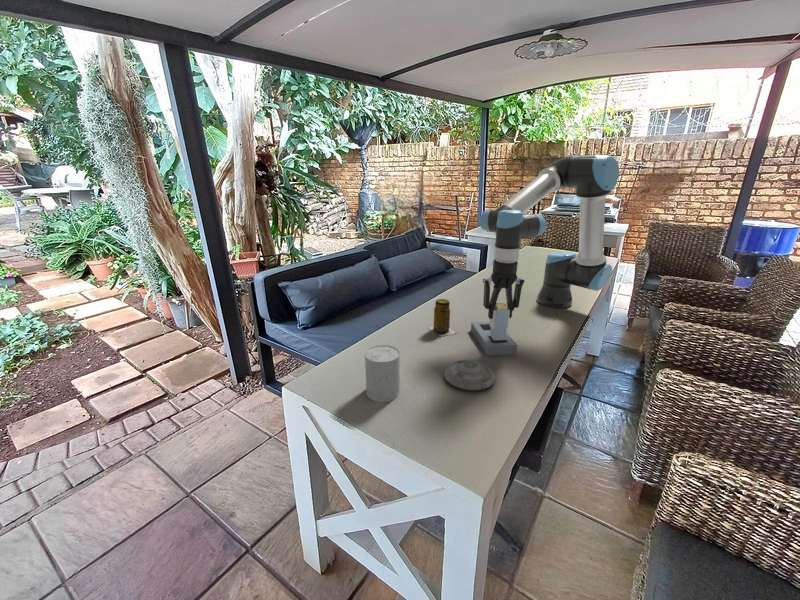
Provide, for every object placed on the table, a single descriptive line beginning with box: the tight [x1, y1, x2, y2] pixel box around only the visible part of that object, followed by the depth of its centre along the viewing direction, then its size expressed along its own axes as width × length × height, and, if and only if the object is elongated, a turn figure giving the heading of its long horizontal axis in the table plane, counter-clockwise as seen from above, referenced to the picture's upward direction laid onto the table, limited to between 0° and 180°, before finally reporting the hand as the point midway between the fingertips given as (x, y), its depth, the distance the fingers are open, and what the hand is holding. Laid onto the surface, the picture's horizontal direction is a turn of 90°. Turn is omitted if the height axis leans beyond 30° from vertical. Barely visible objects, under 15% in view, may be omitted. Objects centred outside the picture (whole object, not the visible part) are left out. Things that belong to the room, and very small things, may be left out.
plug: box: [490, 302, 509, 340], centre depth 125 cm, size 4×4×12 cm
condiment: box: [428, 298, 457, 337], centre depth 140 cm, size 7×8×12 cm
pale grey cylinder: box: [364, 344, 401, 403], centre depth 102 cm, size 10×10×12 cm
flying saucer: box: [443, 359, 496, 391], centre depth 109 cm, size 15×15×6 cm
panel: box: [470, 320, 518, 357], centre depth 132 cm, size 10×20×4 cm, turn 6°
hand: (498, 326), depth 125 cm, fingers closed on plug, 4 cm apart
